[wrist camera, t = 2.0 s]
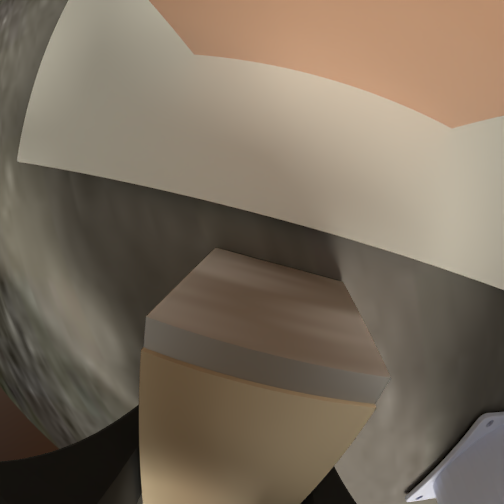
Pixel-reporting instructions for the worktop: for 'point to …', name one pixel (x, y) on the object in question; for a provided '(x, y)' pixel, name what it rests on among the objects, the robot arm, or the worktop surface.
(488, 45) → the tile
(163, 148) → the mat
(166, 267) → the worktop surface
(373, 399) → the tan wooden block
